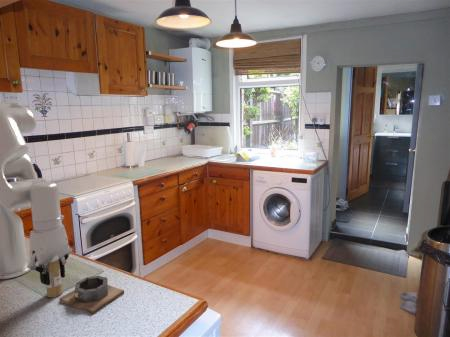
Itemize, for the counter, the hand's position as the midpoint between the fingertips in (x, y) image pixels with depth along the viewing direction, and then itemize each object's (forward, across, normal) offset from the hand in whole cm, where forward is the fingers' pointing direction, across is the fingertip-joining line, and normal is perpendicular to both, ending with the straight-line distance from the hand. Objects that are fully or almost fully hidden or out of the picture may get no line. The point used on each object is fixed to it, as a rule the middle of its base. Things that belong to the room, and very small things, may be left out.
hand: (53, 279), depth 102 cm
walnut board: (+5, -4, +12) cm, 14 cm away
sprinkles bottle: (+5, 0, 0) cm, 5 cm away
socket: (+5, -4, +12) cm, 14 cm away
